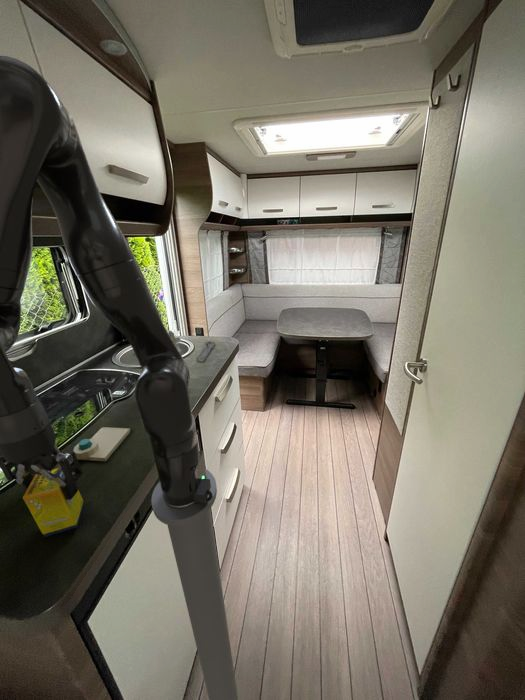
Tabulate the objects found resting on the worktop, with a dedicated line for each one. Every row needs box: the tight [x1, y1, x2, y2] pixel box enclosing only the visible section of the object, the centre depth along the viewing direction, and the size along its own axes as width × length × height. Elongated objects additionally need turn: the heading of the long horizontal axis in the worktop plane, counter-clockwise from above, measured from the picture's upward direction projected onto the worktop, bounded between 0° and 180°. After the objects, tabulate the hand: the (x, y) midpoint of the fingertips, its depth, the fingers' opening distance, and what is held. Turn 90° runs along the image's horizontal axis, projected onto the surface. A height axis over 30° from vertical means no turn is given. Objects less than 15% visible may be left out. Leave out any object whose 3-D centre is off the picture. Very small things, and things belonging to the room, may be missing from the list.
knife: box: [198, 341, 215, 363], centre depth 141 cm, size 25×1×5 cm
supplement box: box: [22, 468, 85, 538], centre depth 55 cm, size 6×6×11 cm
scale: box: [72, 426, 131, 462], centre depth 79 cm, size 13×9×3 cm
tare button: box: [78, 438, 91, 450], centre depth 75 cm, size 3×3×2 cm
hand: (53, 494), depth 54 cm, fingers closed on supplement box, 7 cm apart
